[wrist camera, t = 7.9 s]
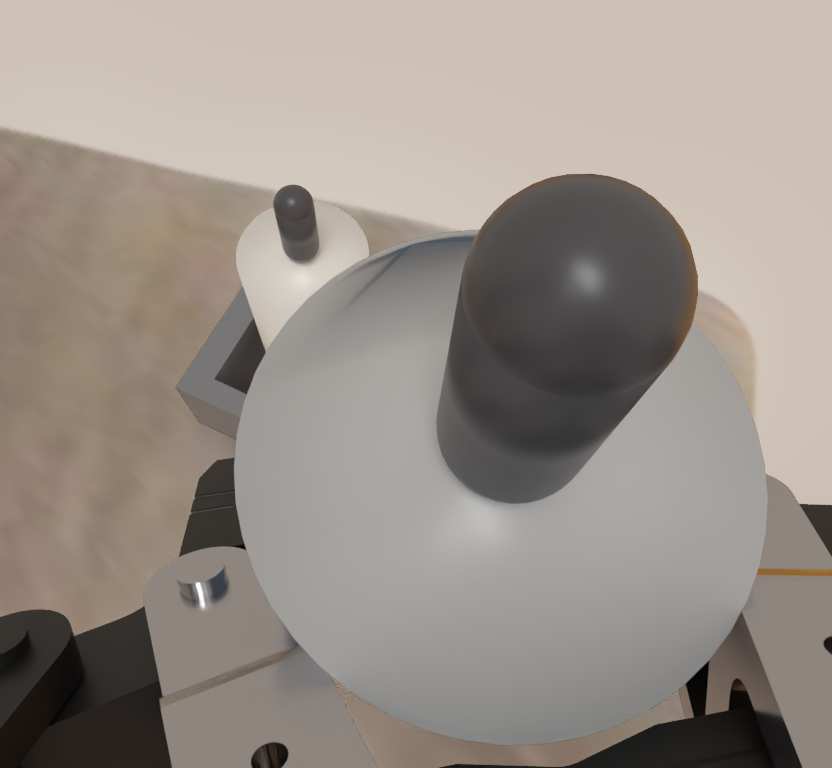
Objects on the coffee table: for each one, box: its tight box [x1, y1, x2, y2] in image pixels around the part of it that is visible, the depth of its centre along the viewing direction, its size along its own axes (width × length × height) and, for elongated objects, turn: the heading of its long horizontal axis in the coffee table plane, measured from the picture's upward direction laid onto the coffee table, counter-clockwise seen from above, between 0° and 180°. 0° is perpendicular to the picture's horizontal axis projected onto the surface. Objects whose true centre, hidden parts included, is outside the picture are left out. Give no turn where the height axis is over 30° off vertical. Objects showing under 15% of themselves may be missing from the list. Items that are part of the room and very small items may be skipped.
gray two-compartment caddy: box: [176, 185, 369, 439], centre depth 27 cm, size 19×8×14 cm, turn 65°
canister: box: [234, 174, 768, 745], centre depth 10 cm, size 4×4×14 cm
